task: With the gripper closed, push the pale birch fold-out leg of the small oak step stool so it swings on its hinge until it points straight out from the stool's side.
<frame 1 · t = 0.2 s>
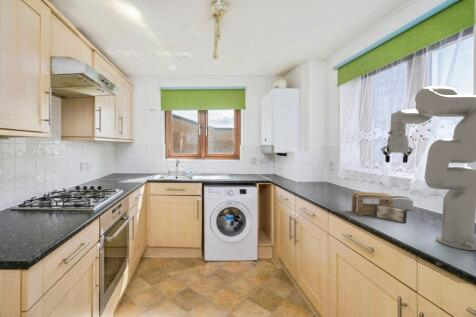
hand: (396, 162, 135), 30 cm above the worktop, tool pointing down, fingers open, 9 cm apart
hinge: (397, 209, 147), on the worktop
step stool: (370, 214, 134), on the worktop
stool leg: (390, 213, 124), point 3 cm above the worktop, hinge at 0.0°
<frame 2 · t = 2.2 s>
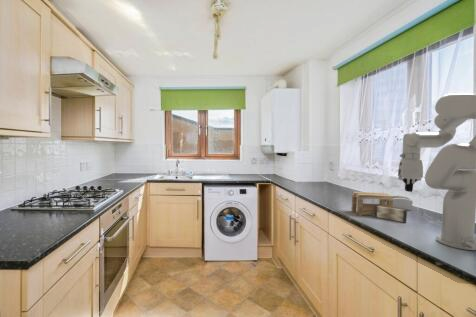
hand: (408, 191, 122), 16 cm above the worktop, tool pointing down, fingers closed
nothing on the worktop moved.
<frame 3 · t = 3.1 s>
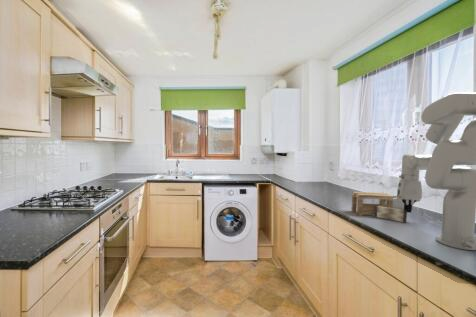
hand: (407, 211, 122), 5 cm above the worktop, tool pointing down, fingers closed
nothing on the worktop moved.
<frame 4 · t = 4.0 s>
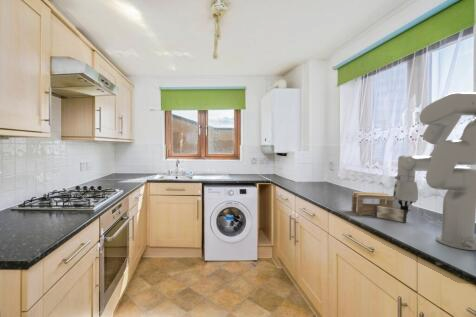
hand: (404, 212, 122), 4 cm above the worktop, tool pointing down, fingers closed
stool leg: (390, 213, 124), point 3 cm above the worktop, hinge at -0.2°, touching gripper
everything else where it was.
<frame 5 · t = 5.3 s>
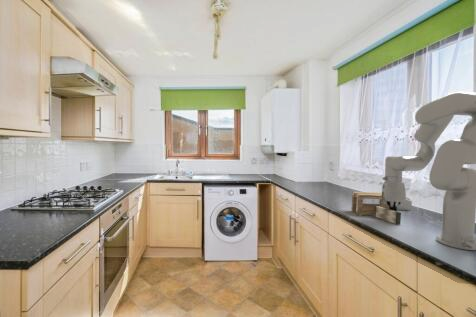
hand: (392, 213, 121), 4 cm above the worktop, tool pointing down, fingers closed
stool leg: (386, 214, 122), point 3 cm above the worktop, hinge at -33.7°, touching gripper
everything else where it was.
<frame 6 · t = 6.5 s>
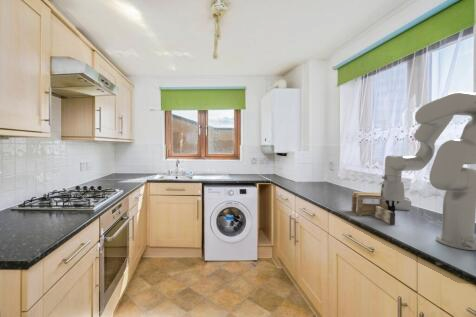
hand: (391, 212, 122), 4 cm above the worktop, tool pointing down, fingers closed
stool leg: (383, 214, 121), point 3 cm above the worktop, hinge at -47.9°
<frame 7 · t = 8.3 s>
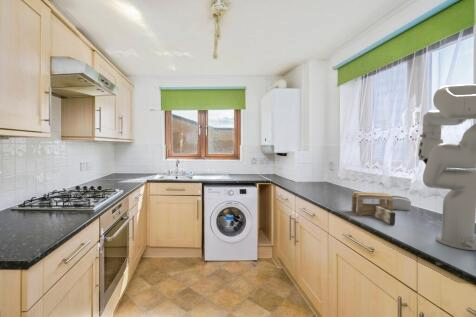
hand: (429, 171, 120), 27 cm above the worktop, tool pointing down, fingers closed
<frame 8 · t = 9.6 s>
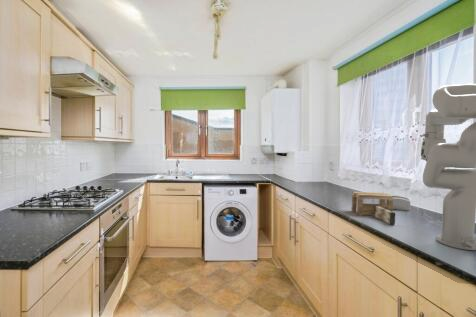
hand: (432, 171, 120), 27 cm above the worktop, tool pointing down, fingers closed
at the end: stool leg at -48° (first picture: +0°) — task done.
